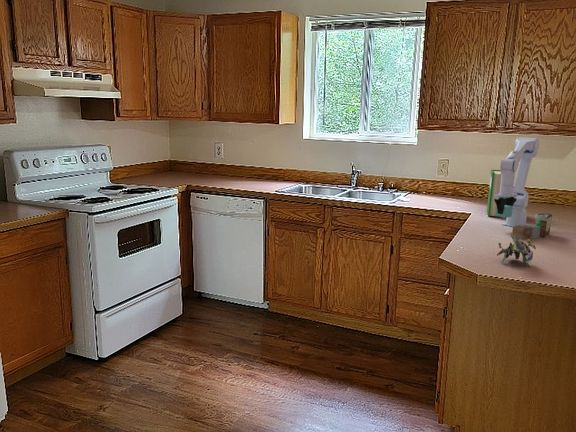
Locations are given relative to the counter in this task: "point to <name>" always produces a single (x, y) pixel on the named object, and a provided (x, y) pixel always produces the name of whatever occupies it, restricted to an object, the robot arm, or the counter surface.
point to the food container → (544, 223)
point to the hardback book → (493, 191)
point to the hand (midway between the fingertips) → (503, 213)
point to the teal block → (505, 212)
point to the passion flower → (519, 250)
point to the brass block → (521, 232)
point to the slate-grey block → (534, 231)
